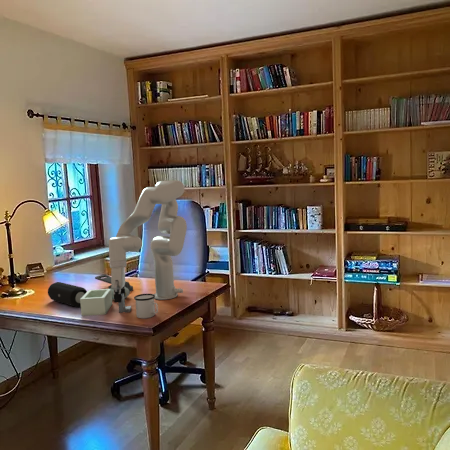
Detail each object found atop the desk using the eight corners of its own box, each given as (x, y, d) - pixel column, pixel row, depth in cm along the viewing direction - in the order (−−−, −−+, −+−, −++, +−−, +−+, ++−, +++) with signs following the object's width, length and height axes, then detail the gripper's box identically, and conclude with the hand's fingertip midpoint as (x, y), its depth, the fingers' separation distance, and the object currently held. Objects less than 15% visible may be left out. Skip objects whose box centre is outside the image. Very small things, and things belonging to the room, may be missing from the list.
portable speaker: (47, 302, 246) (45, 283, 245) (64, 297, 254) (62, 279, 252) (73, 310, 229) (72, 290, 228) (91, 305, 237) (89, 285, 236)
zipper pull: (105, 273, 277) (134, 278, 261) (106, 284, 277) (135, 290, 262) (93, 277, 270) (122, 282, 254) (93, 288, 270) (123, 294, 255)
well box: (112, 304, 236) (111, 288, 235) (105, 314, 220) (104, 297, 219) (90, 305, 236) (88, 290, 235) (81, 315, 220) (80, 299, 219)
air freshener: (128, 295, 252) (127, 277, 250) (131, 299, 244) (129, 280, 243) (107, 298, 248) (106, 279, 247) (109, 302, 240) (107, 283, 239)
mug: (130, 317, 214) (129, 297, 213) (145, 311, 222) (144, 292, 221) (150, 321, 207) (149, 300, 206) (165, 314, 215) (163, 295, 214)
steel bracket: (131, 309, 227) (130, 292, 226) (129, 312, 222) (128, 295, 221) (121, 309, 227) (119, 293, 226) (119, 312, 222) (117, 296, 221)
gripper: (113, 260, 230) (115, 295, 231) (105, 267, 213) (107, 304, 214) (129, 260, 230) (131, 294, 232) (122, 267, 213) (124, 304, 214)
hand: (119, 299), depth 223 cm, fingers open, 9 cm apart
